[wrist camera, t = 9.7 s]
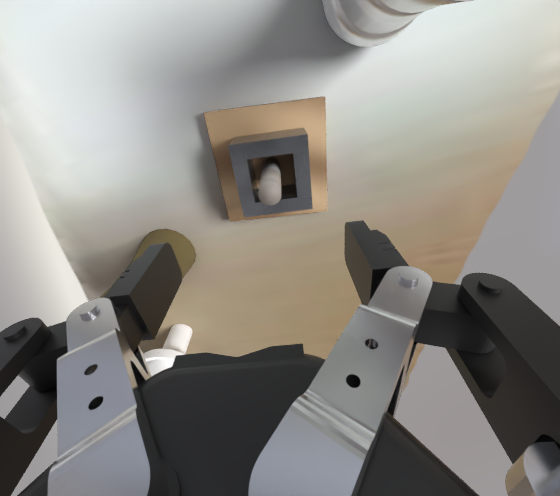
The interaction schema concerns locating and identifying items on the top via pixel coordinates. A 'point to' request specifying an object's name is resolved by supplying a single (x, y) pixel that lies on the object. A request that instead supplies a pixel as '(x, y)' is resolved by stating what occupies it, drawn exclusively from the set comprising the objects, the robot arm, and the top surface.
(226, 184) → the toggle switch
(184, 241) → the cork
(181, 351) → the strainer
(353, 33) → the plastic bottle
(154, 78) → the top surface
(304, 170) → the grey hollow square block
